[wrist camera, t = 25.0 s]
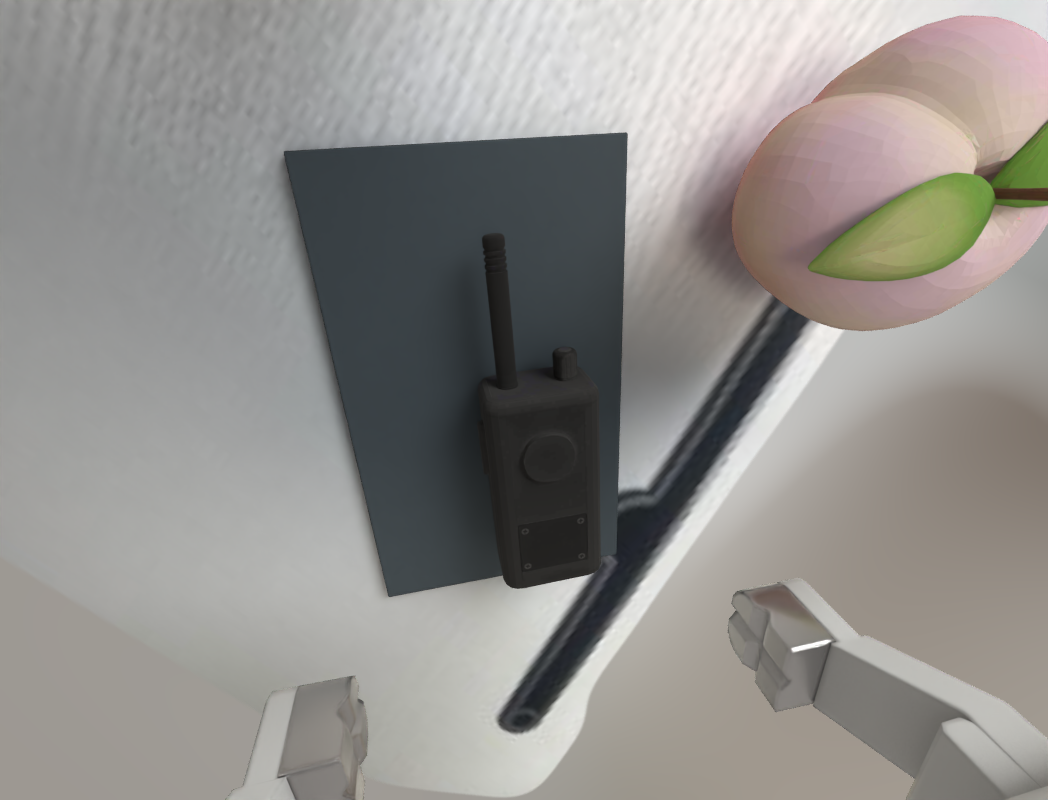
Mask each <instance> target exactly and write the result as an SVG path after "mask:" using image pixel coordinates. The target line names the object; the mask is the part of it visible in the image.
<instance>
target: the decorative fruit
mask: <svg viewBox="0 0 1048 800" xmlns="http://www.w3.org/2000/svg"><path fill="white" fill-rule="evenodd" d="M1047 224H1048V42H1047V41H1046V40H1045V39H1044V38H1042V37H1041V36H1040V35H1039V34H1037V33H1036V32H1034V31H1032V30H1030V29H1028V28H1026V27H1024V26H1022V25H1019V24H1017V23H1015V22H1012V21H1008V20H1005V19H1001V18H998V17H986V16H957V17H953V18H949V19H945V20H941V21H938V22H934V23H930V24H927V25H924V26H922V27H920V28H917V29H915V30H912V31H910V32H908V33H906V34H904V35H902V36H900V37H898V38H896V39H894V40H892V41H890V42H888V43H886V44H885V45H883V46H882V47H880V48H878V49H877V50H875V51H874V52H872V53H871V54H869V55H868V56H866V57H865V58H863V59H862V60H860V61H859V62H857V63H856V64H854V65H853V66H851V67H849V68H848V69H846V70H845V71H843V72H842V73H841V74H840V75H838V76H837V77H836V78H835V79H834V80H833V81H831V82H830V83H829V84H828V85H827V86H826V87H825V88H824V89H823V90H822V91H821V92H820V94H819V95H818V96H817V97H816V98H815V99H814V100H813V102H812V103H811V104H809V105H806V106H804V107H802V108H800V109H798V110H796V111H795V112H793V113H792V114H790V115H789V116H787V117H786V118H785V119H783V120H782V121H781V122H780V123H779V124H778V125H777V126H776V127H775V128H774V129H773V130H772V131H771V132H770V133H769V134H768V136H767V137H766V138H765V139H764V141H763V142H762V143H761V145H760V146H759V148H758V149H757V151H756V152H755V154H754V155H753V157H752V158H751V160H750V162H749V164H748V165H747V167H746V169H745V171H744V173H743V176H742V178H741V181H740V183H739V186H738V189H737V192H736V196H735V199H734V204H733V210H732V235H733V241H734V245H735V248H736V251H737V253H738V255H739V257H740V259H741V261H742V263H743V264H744V266H745V267H746V269H747V270H748V271H749V273H750V274H751V275H752V276H753V277H754V278H755V279H756V280H757V281H758V282H759V283H760V284H761V285H762V286H763V287H764V288H765V289H766V290H767V291H768V292H770V293H771V294H772V295H773V296H775V297H776V298H777V299H778V300H780V301H781V302H782V303H784V304H785V305H787V306H788V307H790V308H791V309H793V310H794V311H796V312H798V313H799V314H801V315H803V316H805V317H807V318H809V319H811V320H813V321H816V322H818V323H821V324H824V325H827V326H830V327H834V328H839V329H845V330H857V331H872V330H882V329H890V328H895V327H900V326H904V325H908V324H912V323H916V322H919V321H922V320H925V319H928V318H931V317H933V316H935V315H938V314H940V313H942V312H944V311H946V310H948V309H950V308H952V307H954V306H956V305H957V304H959V303H961V302H963V301H965V300H966V299H968V298H970V297H971V296H973V295H974V294H976V293H978V292H979V291H981V290H982V289H984V288H986V287H987V286H988V285H990V284H991V283H992V282H994V281H995V280H996V279H998V278H999V277H1000V276H1001V275H1002V274H1004V273H1005V272H1006V271H1007V270H1009V269H1010V268H1011V267H1012V266H1013V265H1014V264H1015V263H1016V262H1017V261H1018V260H1019V259H1020V258H1021V257H1022V256H1023V255H1024V254H1025V253H1026V252H1027V251H1028V249H1029V248H1030V247H1031V246H1032V245H1033V244H1034V242H1035V241H1036V240H1037V238H1038V237H1039V236H1040V235H1041V233H1042V231H1043V230H1044V228H1045V227H1046V225H1047Z"/></svg>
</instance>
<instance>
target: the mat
mask: <svg viewBox="0 0 1048 800" xmlns="http://www.w3.org/2000/svg"><path fill="white" fill-rule="evenodd" d="M627 135H628V134H627V133H608V134H590V135H572V136H554V137H535V138H517V139H499V140H480V141H462V142H444V143H426V144H407V145H389V146H371V147H353V148H334V149H316V150H298V151H285V152H284V156H285V160H286V164H287V169H288V173H289V177H290V181H291V186H292V190H293V194H294V198H295V203H296V207H297V211H298V215H299V219H300V224H301V228H302V232H303V236H304V241H305V245H306V249H307V253H308V258H309V262H310V266H311V270H312V274H313V279H314V283H315V287H316V291H317V296H318V300H319V304H320V308H321V313H322V317H323V321H324V325H325V329H326V334H327V338H328V342H329V346H330V351H331V355H332V359H333V363H334V368H335V372H336V376H337V380H338V385H339V389H340V393H341V397H342V401H343V406H344V410H345V414H346V418H347V423H348V427H349V431H350V435H351V440H352V444H353V448H354V452H355V456H356V461H357V465H358V469H359V473H360V478H361V482H362V486H363V490H364V495H365V499H366V503H367V507H368V512H369V516H370V520H371V524H372V528H373V533H374V537H375V541H376V545H377V550H378V554H379V558H380V562H381V567H382V571H383V575H384V579H385V583H386V588H387V592H388V596H389V597H392V596H397V595H402V594H407V593H413V592H418V591H423V590H429V589H434V588H439V587H444V586H450V585H455V584H460V583H465V582H471V581H476V580H481V579H486V578H492V577H497V576H502V575H503V574H502V569H501V564H500V560H499V555H498V549H497V541H496V533H495V525H494V517H493V509H492V501H491V493H490V485H489V477H488V474H487V475H486V474H484V472H483V466H482V459H481V451H480V443H479V436H478V428H477V422H478V421H481V413H480V405H479V397H478V385H479V383H480V381H481V380H482V379H484V378H485V377H488V376H492V375H496V369H495V359H494V350H493V340H492V331H491V321H490V312H489V303H488V293H487V284H486V274H485V272H486V269H485V264H486V263H485V262H484V258H485V256H484V255H483V251H484V248H483V246H482V237H483V236H484V235H486V234H491V233H501V234H503V235H504V238H505V247H504V249H506V254H505V256H506V259H507V260H506V261H505V263H507V268H506V269H507V270H508V282H509V293H510V305H511V316H512V328H513V339H514V351H515V362H516V372H519V371H526V370H533V369H540V368H547V367H553V358H552V353H553V351H554V350H555V349H556V348H559V347H572V348H574V349H575V350H576V352H577V366H578V367H580V368H581V369H583V370H584V372H585V373H586V374H587V375H588V376H589V377H590V379H591V380H592V381H593V382H594V383H595V384H596V386H597V388H598V391H599V435H600V531H601V557H602V556H608V555H613V554H616V543H617V506H618V469H619V432H620V395H621V358H622V320H623V283H624V246H625V209H626V172H627Z"/></svg>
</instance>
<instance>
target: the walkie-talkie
mask: <svg viewBox="0 0 1048 800" xmlns="http://www.w3.org/2000/svg"><path fill="white" fill-rule="evenodd" d="M482 246H483V248H484V251H483V255H484V256H485V258H484V262H485V263H486V264H485V269H486V272H485V274H486V284H487V293H488V303H489V312H490V321H491V331H492V340H493V350H494V359H495V369H496V375H492V376H488V377H485V378H484V379H482V380H481V381H480V383H479V385H478V397H479V405H480V413H481V421H478V422H477V428H478V436H479V443H480V451H481V459H482V466H483V472H484V474H486V475H487V474H488V477H489V485H490V493H491V501H492V509H493V517H494V525H495V533H496V541H497V549H498V555H499V560H500V564H501V569H502V574H503V578H504V581H505V582H506V584H507V585H508V586H510V587H512V588H517V589H519V588H527V587H532V586H536V585H541V584H546V583H551V582H556V581H561V580H565V579H570V578H575V577H580V576H585V575H589V574H592V573H594V572H596V571H597V570H598V569H599V567H600V564H601V531H600V435H599V391H598V388H597V386H596V384H595V383H594V382H593V381H592V380H591V379H590V377H589V376H588V375H587V374H586V373H585V372H584V370H583V369H581V368H580V367H578V366H577V352H576V350H575V349H574V348H572V347H559V348H556V349H555V350H554V351H553V353H552V358H553V367H547V368H540V369H533V370H526V371H519V372H516V362H515V351H514V339H513V328H512V316H511V305H510V293H509V282H508V270H507V269H506V268H507V263H505V261H506V260H507V259H506V256H505V254H506V249H504V247H505V238H504V235H503V234H501V233H491V234H486V235H484V236H483V237H482Z"/></svg>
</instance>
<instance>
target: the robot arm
mask: <svg viewBox="0 0 1048 800" xmlns="http://www.w3.org/2000/svg"><path fill="white" fill-rule="evenodd" d="M732 605H733V607H734V608H735V609H736V611H735V612H734V614H733V615H732V616H731V617H730V618H729V624H728V633H729V638H730V642H731V645H732V647H733V649H734V651H735V653H736V655H737V656H738V658H739V659H740V660H741V662H742V663H743V664H744V665H746V666H747V667H749V668H751V669H752V670H754V671H755V682H756V684H757V686H758V687H759V689H760V690H761V692H762V693H763V694H764V696H765V697H766V699H767V700H768V701H769V703H770V705H771V706H772V707H773V709H774V710H775V712H778V711H783V710H787V709H792V708H796V707H800V706H804V705H809V704H813V703H814V704H813V706H814V707H815V708H816V709H818V710H819V711H821V712H822V713H823V714H825V715H826V716H828V717H829V718H830V719H832V720H833V721H835V722H836V723H838V724H839V725H840V726H842V727H843V728H844V729H846V730H847V731H849V732H850V733H851V734H853V735H854V736H855V737H857V738H858V739H860V740H861V741H863V742H864V743H865V744H867V745H868V746H869V747H871V748H872V749H874V750H875V751H876V752H878V753H879V754H881V755H882V756H883V757H885V758H886V759H888V760H889V761H890V762H892V763H893V764H895V765H896V766H897V767H899V768H900V769H902V770H903V771H904V772H906V773H907V774H909V775H910V776H912V777H913V778H914V779H915V780H914V782H913V784H912V786H911V788H910V791H909V793H908V795H907V797H906V800H1048V738H1046V737H1045V736H1044V735H1043V734H1042V733H1041V732H1040V731H1039V730H1037V729H1036V728H1035V727H1034V726H1033V725H1032V724H1031V723H1029V722H1028V721H1027V720H1026V719H1025V718H1024V717H1023V716H1022V715H1020V714H1019V713H1018V712H1017V711H1016V710H1015V709H1014V708H1013V707H1011V706H1010V705H1009V704H1008V703H1007V702H1005V701H1003V700H1001V699H999V698H997V697H995V696H993V695H990V694H988V693H986V692H984V691H982V690H980V689H978V688H976V687H974V686H972V685H970V684H967V683H965V682H963V681H961V680H959V679H957V678H955V677H953V676H951V675H948V674H947V673H945V672H942V671H940V670H938V669H936V668H934V667H932V666H930V665H928V664H926V663H924V662H922V661H919V660H917V659H915V658H913V657H911V656H909V655H907V654H905V653H903V652H901V651H899V650H897V649H894V648H892V647H890V646H888V645H886V644H884V643H882V642H880V641H878V640H876V639H873V638H872V637H869V636H867V635H863V636H859V635H858V634H857V633H856V632H855V631H854V630H853V629H852V628H851V627H850V626H849V625H848V624H847V623H846V622H845V621H844V620H843V619H842V618H841V617H840V616H839V615H838V613H836V611H835V610H834V609H833V608H832V607H830V606H829V604H828V603H827V602H826V601H825V600H824V599H823V598H822V597H821V596H820V595H819V594H818V593H817V592H816V591H815V590H814V589H813V588H812V587H811V586H810V585H809V584H808V583H807V582H806V581H804V580H802V579H801V578H795V579H790V580H786V581H782V582H777V583H775V582H774V583H770V584H766V585H761V586H757V587H753V588H748V589H745V590H740V591H737V592H736V593H735V594H734V595H733V599H732ZM358 692H359V685H358V682H357V679H356V676H349V677H344V678H338V679H333V680H328V681H323V682H317V683H312V684H307V685H302V686H297V687H292V688H287V689H282V690H277V691H273V692H271V694H270V696H269V698H268V699H267V701H266V704H265V707H264V711H263V715H262V718H261V722H260V726H259V729H258V733H257V736H256V740H255V744H254V747H253V750H252V754H251V758H250V761H249V765H248V768H247V772H246V775H245V779H244V783H243V786H242V787H240V788H236V789H233V790H232V792H231V793H230V794H229V795H228V797H227V798H226V799H225V800H363V799H364V786H365V780H364V776H363V773H362V770H361V766H360V765H361V764H362V762H363V761H364V759H365V757H366V756H367V747H368V722H367V715H366V709H365V705H364V702H363V701H362V700H360V699H358Z"/></svg>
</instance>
